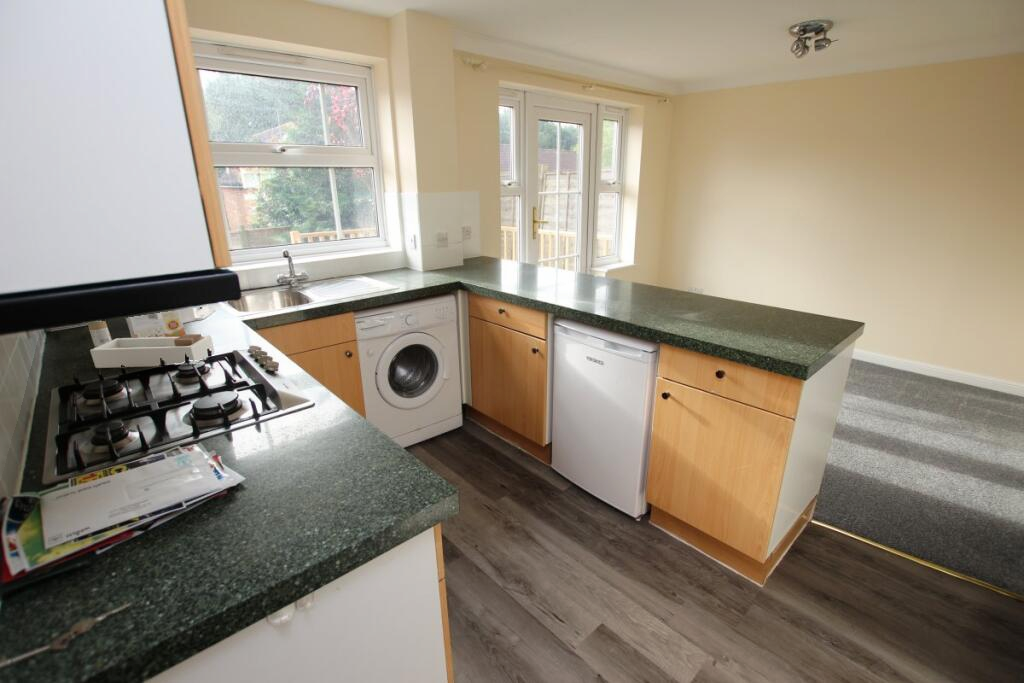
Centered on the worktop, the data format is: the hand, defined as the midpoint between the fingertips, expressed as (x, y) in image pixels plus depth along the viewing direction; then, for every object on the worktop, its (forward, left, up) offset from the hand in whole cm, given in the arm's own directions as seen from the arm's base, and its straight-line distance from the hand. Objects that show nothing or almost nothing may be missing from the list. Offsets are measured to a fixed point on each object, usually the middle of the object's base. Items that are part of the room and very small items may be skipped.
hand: (155, 318), depth 138 cm
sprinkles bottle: (-7, -22, -13) cm, 27 cm away
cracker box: (-20, -14, -13) cm, 28 cm away
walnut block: (0, +8, -10) cm, 13 cm away
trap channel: (0, -2, -13) cm, 13 cm away
